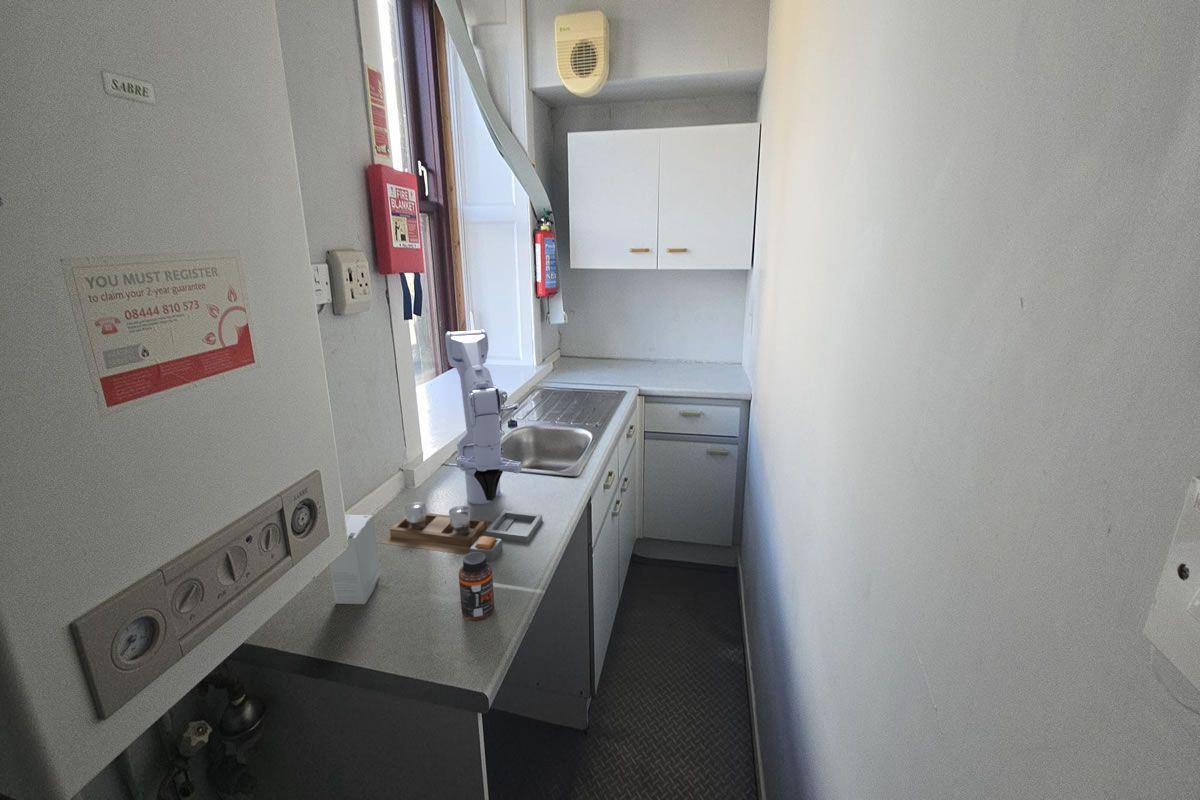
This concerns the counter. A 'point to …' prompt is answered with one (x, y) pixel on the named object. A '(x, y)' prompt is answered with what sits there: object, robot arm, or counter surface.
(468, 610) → the supplement bottle
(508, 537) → the shallow grey tray
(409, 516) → the cylinder
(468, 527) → the billet
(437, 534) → the wooden compartment tray
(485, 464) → the robot arm
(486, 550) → the button housing
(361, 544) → the skincare box
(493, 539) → the button
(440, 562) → the counter surface
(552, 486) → the counter surface
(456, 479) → the counter surface
